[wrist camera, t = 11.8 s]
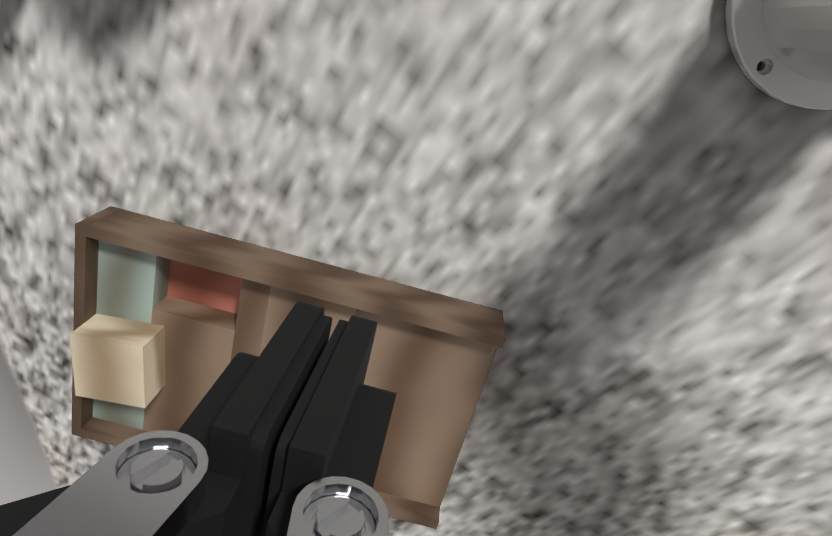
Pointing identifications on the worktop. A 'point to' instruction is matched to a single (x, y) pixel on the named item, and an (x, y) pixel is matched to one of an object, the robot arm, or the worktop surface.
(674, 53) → the worktop surface
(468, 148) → the worktop surface
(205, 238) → the box
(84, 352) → the maple block
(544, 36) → the worktop surface
